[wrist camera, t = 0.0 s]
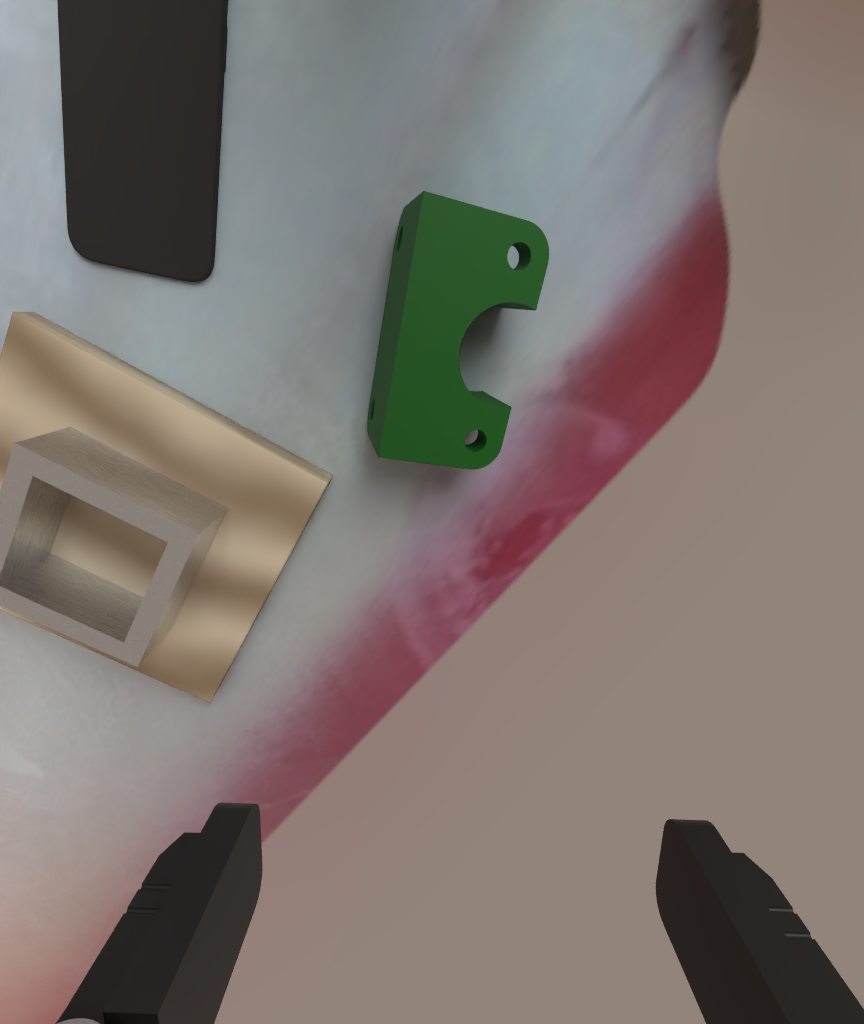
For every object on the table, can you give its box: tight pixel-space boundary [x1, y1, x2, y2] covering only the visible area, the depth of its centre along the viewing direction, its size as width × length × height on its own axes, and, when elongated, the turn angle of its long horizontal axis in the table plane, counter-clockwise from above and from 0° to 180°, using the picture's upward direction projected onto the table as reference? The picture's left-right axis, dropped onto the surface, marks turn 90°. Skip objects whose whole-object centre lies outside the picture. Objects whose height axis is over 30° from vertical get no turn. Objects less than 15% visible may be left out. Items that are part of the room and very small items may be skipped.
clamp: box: [368, 191, 549, 469], centre depth 26 cm, size 12×6×9 cm, turn 163°
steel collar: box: [0, 427, 229, 667], centre depth 29 cm, size 9×9×4 cm
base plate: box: [0, 312, 333, 703], centre depth 31 cm, size 18×18×2 cm
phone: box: [58, 0, 228, 282], centre depth 25 cm, size 7×1×15 cm
